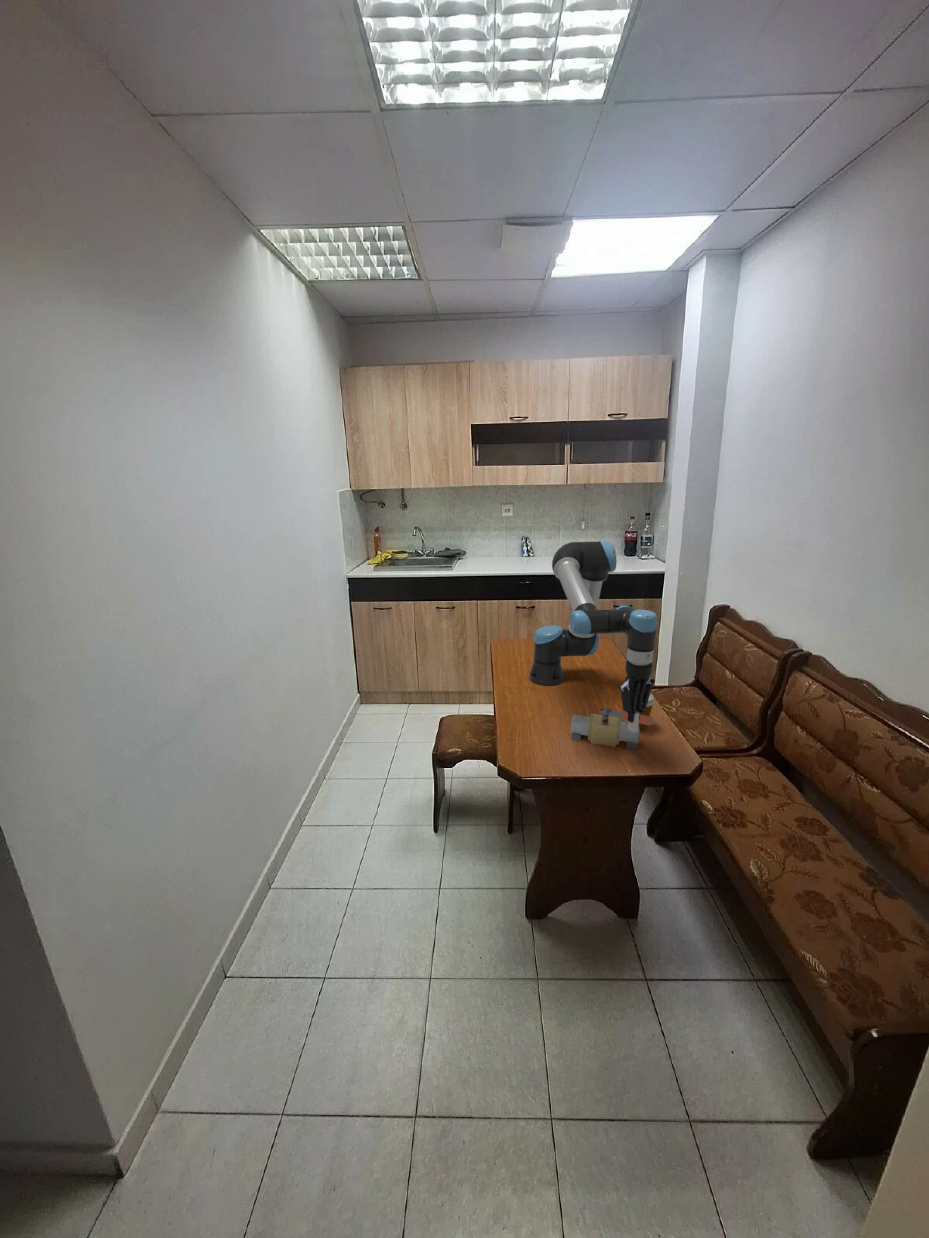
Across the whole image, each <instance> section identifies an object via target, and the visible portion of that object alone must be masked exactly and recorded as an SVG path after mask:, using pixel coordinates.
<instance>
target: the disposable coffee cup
mask: <svg viewBox="0 0 929 1238" xmlns="http://www.w3.org/2000/svg"><path fill="white" fill-rule="evenodd" d="M655 702H656V701H655V698H654V695H653V694H652V693H650V696H649V699H648V703H647V706H646V708H645V709H642V710H643V711H644V712H643V713H640V715H644V716H649V717H651V713H652V708H653V705H654V704H655ZM638 724H639V731H645V730H647V728H648V725H645V724H640V723H638Z"/></svg>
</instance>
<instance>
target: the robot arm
mask: <svg viewBox="0 0 929 1238" xmlns="http://www.w3.org/2000/svg"><path fill="white" fill-rule="evenodd" d="M617 563H618V561H617V553H616V549H615V546H614V545H613V543H611V542H610V541H602V540H599V541H598V540H597V541H570V542H568V543H565V544H563V545H562V546H560V547H559V548H558V549H557V551H556V552H555V553H554V555H553V557H552V560H551V567H552V572H553V575H554V576H555V577H556V578H557V579H558V580H559V582H560V584H561V586H562V590H563V591H564V594H565V596H566V599H567V601H568V603H569V607H570V609H571V611H572V612H571V613H570V615H569V623H568V625H567V629H562V628H563V627H561V626H559V625H555V624H554V625H545V626H541V627H539V628H537V629H536V630H535V632H534V639H533V663H532V666H531V668H530V669H529V670H530V671H529V675H528V676H529V680H530V681H531V682H532V683H534V684H537V685H540V686H557V685H560V684H563V682H564V681H565V673H564V670H563V669H564V668H563V665H562V658H563V657H564V658H565V657H587V656H592V655H595V653H596V652H597V651H598V649H599V641H600V636H599V634H600V635H601V634H602V635H603V634H626V636H628V637H627V638H628V640H627V649H626V657H625V658H626V661H625V670H624V671H625V672H626V677H625V682H624V683H623V684H619V685H618V689H619V690H620V696H621V703H622V710H623V712H624V711H625V712H627V713H628V721H627V722H628V729H629V730H631V731H632V732H637V731H638V722H639V719H640V713H643V712H644V711H643V710H642V709H645V708H646V706H647V703H648V699H649V696H650V694H651V691H652V689H653V685H654V684H655V682H656V680H655V679H654V678H651V675H652V670H653V659H654V651H655V643H656V633H657V628H658V623H657V622H658V617H657V616H658V615H657V614H656V613H655V612H654V611H652V610H647V609H635V608H634V607H631V606H629V605H620V606H618V607H616V608H614V609H598V605H599V600H600V596H601V591H602V590H601V589H602V586H603V582H604V581H606V580H607V579H608V577H609V573H613V572H615V571H616V568H617Z"/></svg>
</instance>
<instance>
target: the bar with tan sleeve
mask: <svg viewBox="0 0 929 1238" xmlns="http://www.w3.org/2000/svg"><path fill="white" fill-rule="evenodd" d="M570 734H571V740H572V741H573V740H574V741H582V735H583V736H587V741H589V742H590V744H594V745H599V746H600V745H601V746H607V747H612V748H616V745H617V746H618V745H619V744H620V741H621V742H626V747H625V748H626V749H629V750H637V744H639V738H640V737H639V736H640V730H639V724H638V731H637V732H632V731H631V730H629V729H628V721H626V722H625V721H622V718H617V717H612V716H604V715H602V714H597V713H594V712H590V716H582V715H579V714H578V715H576V714H572V717H571V722H570ZM619 746H620V745H619Z"/></svg>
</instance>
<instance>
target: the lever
mask: <svg viewBox="0 0 929 1238" xmlns="http://www.w3.org/2000/svg"><path fill="white" fill-rule="evenodd" d="M599 712H600V715H604V716H612V717H617V718H621V721H626V722H628V713H627V712H626V711H624V710H623V711H619V710H614V709H610V708H608V707H602V708H600V710H599ZM654 721H655V719H654V718H653V716H650V717H649V716H644V715H640V719H639V722H638V723H640V724H645V725H647V726H653V724H654Z"/></svg>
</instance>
